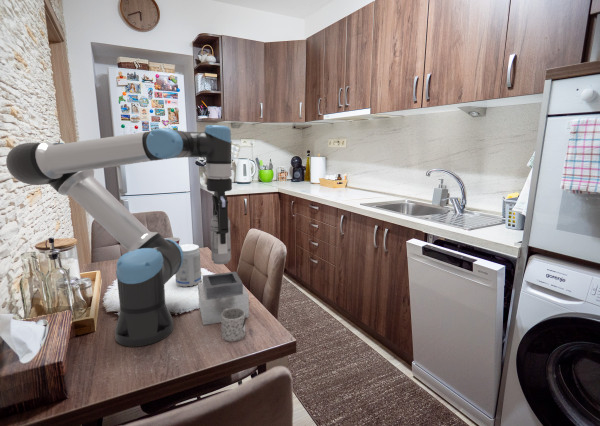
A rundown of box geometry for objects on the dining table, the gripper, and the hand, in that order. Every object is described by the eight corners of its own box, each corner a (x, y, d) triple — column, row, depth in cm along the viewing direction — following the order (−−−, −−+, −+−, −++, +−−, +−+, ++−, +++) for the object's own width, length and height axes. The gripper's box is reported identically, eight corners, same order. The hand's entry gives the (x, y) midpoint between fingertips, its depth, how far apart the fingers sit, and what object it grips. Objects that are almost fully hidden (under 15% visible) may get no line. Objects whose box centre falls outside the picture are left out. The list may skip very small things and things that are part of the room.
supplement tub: (195, 276, 137) (194, 242, 134) (205, 283, 129) (203, 247, 127) (172, 281, 131) (170, 246, 128) (180, 289, 123) (178, 252, 121)
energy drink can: (233, 263, 104) (232, 217, 101) (214, 266, 101) (213, 218, 98) (227, 257, 109) (226, 213, 106) (209, 260, 106) (207, 215, 103)
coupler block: (203, 325, 99) (201, 291, 97) (198, 304, 112) (197, 274, 110) (248, 317, 104) (248, 284, 102) (239, 298, 117) (239, 269, 115)
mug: (248, 337, 93) (248, 315, 92) (226, 344, 90) (225, 321, 88) (235, 321, 102) (235, 301, 100) (214, 327, 98) (214, 306, 97)
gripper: (238, 180, 93) (239, 258, 97) (225, 175, 110) (226, 241, 114) (211, 180, 90) (213, 260, 94) (202, 175, 107) (204, 243, 111)
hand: (220, 250), depth 104 cm, fingers closed on energy drink can, 6 cm apart
